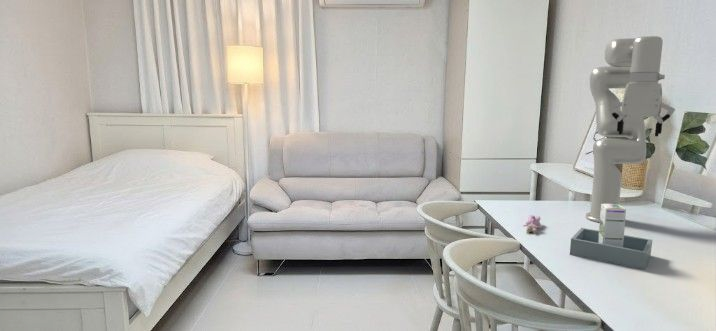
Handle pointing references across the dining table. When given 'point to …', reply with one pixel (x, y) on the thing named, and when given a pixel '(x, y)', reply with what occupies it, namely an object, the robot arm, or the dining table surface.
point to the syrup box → (612, 224)
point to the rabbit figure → (533, 224)
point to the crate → (611, 249)
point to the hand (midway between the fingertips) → (638, 135)
